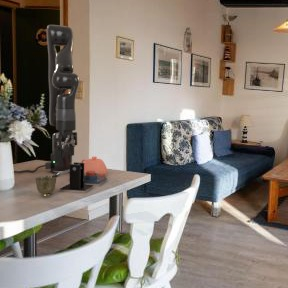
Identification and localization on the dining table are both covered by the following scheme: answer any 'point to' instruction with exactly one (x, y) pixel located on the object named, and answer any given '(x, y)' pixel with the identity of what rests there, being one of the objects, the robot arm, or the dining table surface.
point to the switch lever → (62, 173)
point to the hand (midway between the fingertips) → (66, 156)
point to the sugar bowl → (95, 166)
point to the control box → (94, 179)
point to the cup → (45, 185)
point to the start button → (90, 173)
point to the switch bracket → (76, 178)
